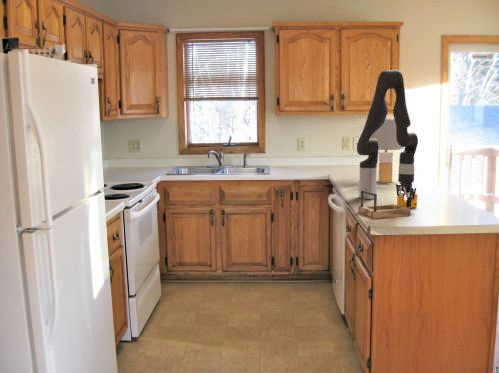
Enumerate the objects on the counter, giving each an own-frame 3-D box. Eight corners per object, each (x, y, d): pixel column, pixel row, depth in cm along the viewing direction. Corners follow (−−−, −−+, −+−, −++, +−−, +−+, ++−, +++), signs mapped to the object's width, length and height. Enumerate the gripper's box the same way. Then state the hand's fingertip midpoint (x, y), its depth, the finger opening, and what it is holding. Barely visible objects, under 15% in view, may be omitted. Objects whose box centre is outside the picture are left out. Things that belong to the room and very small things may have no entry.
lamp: (376, 185, 339) (378, 120, 332) (362, 180, 361) (363, 119, 354) (409, 183, 343) (411, 119, 337) (392, 179, 365) (394, 119, 359)
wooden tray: (358, 212, 254) (358, 189, 253) (392, 209, 260) (393, 187, 258) (374, 218, 240) (375, 194, 239) (410, 215, 246) (411, 192, 244)
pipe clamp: (409, 205, 268) (410, 193, 267) (416, 206, 264) (417, 194, 263) (394, 208, 261) (394, 195, 260) (401, 209, 258) (401, 196, 257)
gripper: (391, 171, 266) (390, 204, 268) (408, 174, 252) (407, 209, 255) (404, 170, 268) (403, 203, 271) (421, 173, 254) (420, 208, 257)
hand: (405, 205), depth 263 cm, fingers closed on pipe clamp, 5 cm apart
